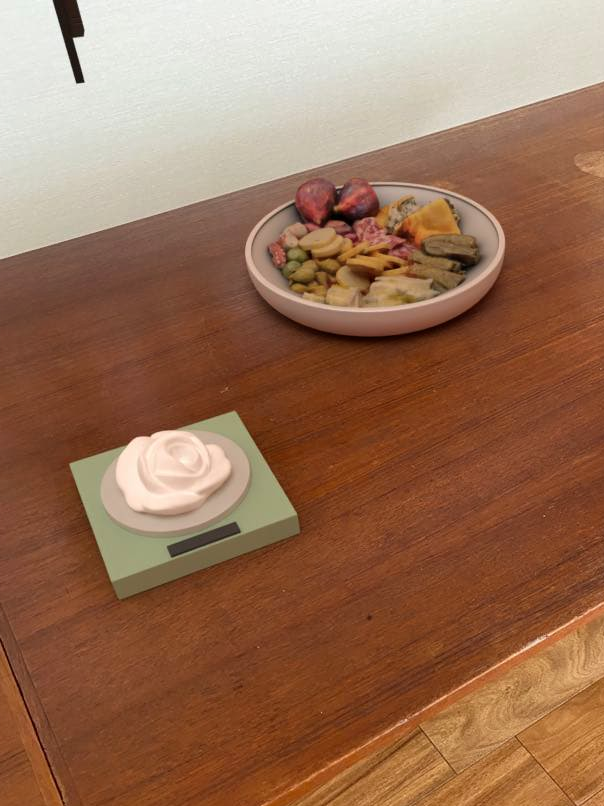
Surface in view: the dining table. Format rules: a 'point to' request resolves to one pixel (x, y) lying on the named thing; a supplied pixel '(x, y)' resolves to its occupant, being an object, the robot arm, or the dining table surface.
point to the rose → (170, 472)
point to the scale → (186, 514)
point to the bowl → (374, 256)
